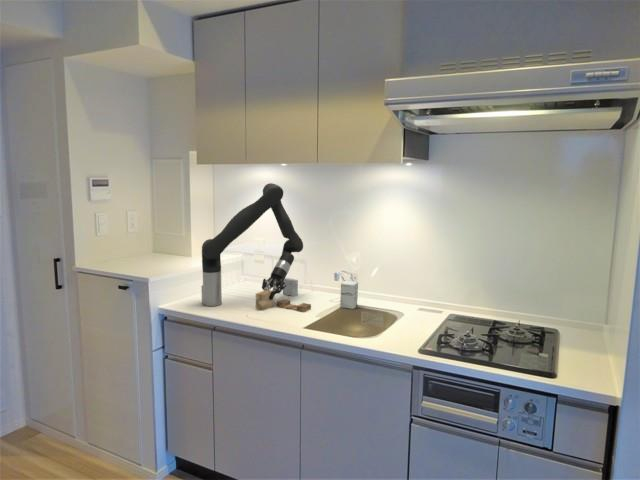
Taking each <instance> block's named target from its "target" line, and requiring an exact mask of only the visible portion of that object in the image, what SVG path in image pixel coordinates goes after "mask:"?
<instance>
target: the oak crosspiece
mask: <svg viewBox="0 0 640 480" xmlns="http://www.w3.org/2000/svg"><path fill="white" fill-rule="evenodd" d="M271 292H273V290H271V289H270V290H265V291H264V290H262V291H259V292H256V293H255V310H257V311H265V310H268V309H269V308H273V307H274V298H273V299H272V300H270V299H269V296H270V294H271Z"/></svg>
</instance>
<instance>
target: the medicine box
mask: <svg viewBox="0 0 640 480" xmlns="http://www.w3.org/2000/svg"><path fill="white" fill-rule="evenodd" d="M283 282H284V283H285V284H286V287H285V288H284V289H283V290H282V294H283V295H285V294H287V296H289V295H290V297H295V296H298V295H299V287H298V286H299V283H298V282H299V280H298V279H295V278H289V277H287V278H286V277H285V279H284V281H283Z"/></svg>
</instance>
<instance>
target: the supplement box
mask: <svg viewBox="0 0 640 480" xmlns="http://www.w3.org/2000/svg"><path fill="white" fill-rule="evenodd" d="M358 290H359V282H357V281H350V280H344V281H342V282H341V283H340V296H339V297H340V301H339V302H340V303H339V307H340V308H344V309H345V308H346V309H350V310H351V309H352V310H354V309H355V308H356V307H357V306H358V296H359V295H358V293H359V291H358ZM356 305H357V306H356Z"/></svg>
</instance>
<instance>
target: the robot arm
mask: <svg viewBox="0 0 640 480" xmlns="http://www.w3.org/2000/svg"><path fill="white" fill-rule="evenodd" d="M283 197H284V189H283V187H281V186H280V185H278V184H276V183H273V182H271V183H270V182H269V183H267V184H266V185H264V187H263V189H262V195H261V196H260V197H259V198H258V199H257V200H256V201H254V202H253V203H252V204H251V203H250V205H247V206H246V207H244V208H242V209H241V210H239V211H238V212H237V213H236V214H235V215H234V216H233V217H232V218H231V219H230V220H229V221H228V222H227V224H226V225H225V227H224V228H223V229H222V230H221V231H220V232H219V233H218V234H217V235H216V236H214V238H209V239H206V240H205V241H204V242H203V243H202V245H201V265H202V267H201V268H202V285H201V304H202V305H203V306H206V307H217V306H220V305H222V302H223V301H222V295H223V294H222V262H221V261H222V260H221V254H222V253H223V252H224V251H225V250H226V249H227V247H228V246H230V245H231V244H232V242H234V241H235V240H236V239H238V238H239V237H240V236H241V235H243V234H244V233H245V232H246V231H247V230H248V229H249V228H251V226H252V225H253V224H254V223H256V221H258V220H259V219H260V218H261V217H262V216H263V215H264V214H265V213H266V212H267V211H268V210H270V209H271V211H272V213H273V215H274V218H275V220H276V223H277V225H278V227H279V230H280V233H281V235H282V237H283V238H285V239H287V240H286V241H285V242H284V243H283V247H282V252H281V255H280V257H279V259H278V260H277V262H276V263H275V265H274V267H273V269H272V271H271V273H270V277H268V279H266V278H263V280H262V284H261V289H262V291H265V290H271V289H272V291H273V292H271V294H270V296H269V299H270V300H272V299H273V300H274V298H275V296H276V295H277V294H281V292H283V289H284V288H285V287H286V284H285V283H284V282H283V281H284V279H285V278H286V277H287V275H288V273H289V271H290V269H291V266H292V265H293V262H294V260H295V256H294V255H293V253H300V252H302V251H303V249H304V243H303V239H301V237H300V235H298V233H297V231H296V230H295V228H294V226H293V223H292V220H291V218H290V217H289V214H288V212H287V211H286V209H285V208H284V205H283V202H282V200H283Z"/></svg>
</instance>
